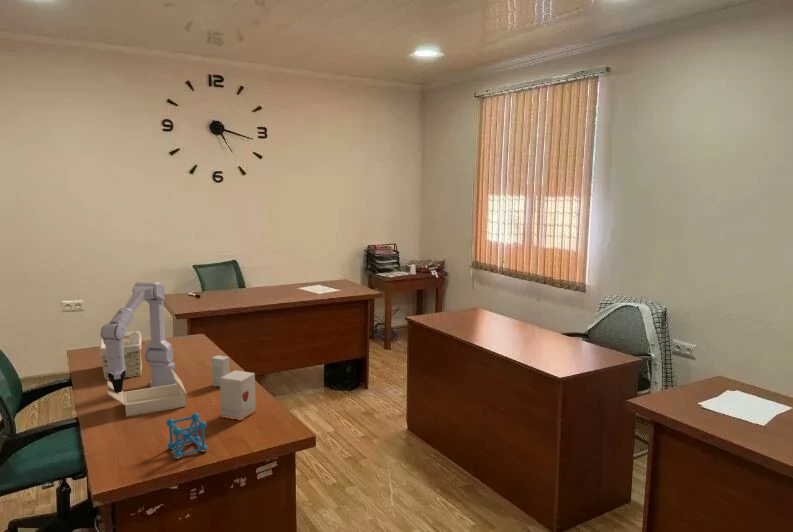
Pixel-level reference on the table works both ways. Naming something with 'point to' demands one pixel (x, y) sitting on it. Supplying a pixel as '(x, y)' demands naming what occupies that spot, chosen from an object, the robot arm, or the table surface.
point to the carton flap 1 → (113, 394)
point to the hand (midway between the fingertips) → (118, 392)
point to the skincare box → (219, 368)
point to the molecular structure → (186, 434)
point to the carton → (154, 399)
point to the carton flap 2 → (178, 381)
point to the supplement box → (237, 394)
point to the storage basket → (127, 355)
